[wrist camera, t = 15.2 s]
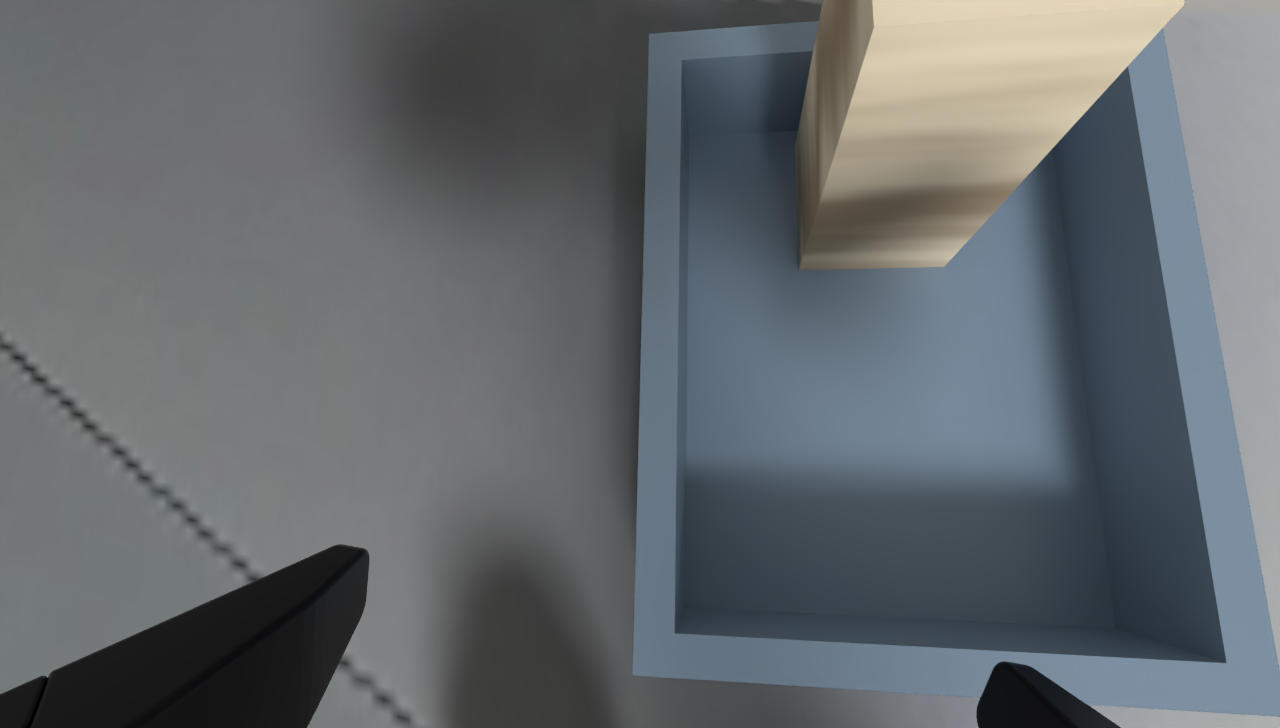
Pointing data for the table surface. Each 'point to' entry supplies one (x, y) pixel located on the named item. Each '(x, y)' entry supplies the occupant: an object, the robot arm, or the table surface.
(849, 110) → the tall ash block
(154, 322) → the table surface
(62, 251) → the table surface
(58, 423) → the table surface
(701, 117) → the tote
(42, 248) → the table surface
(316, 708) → the robot arm
